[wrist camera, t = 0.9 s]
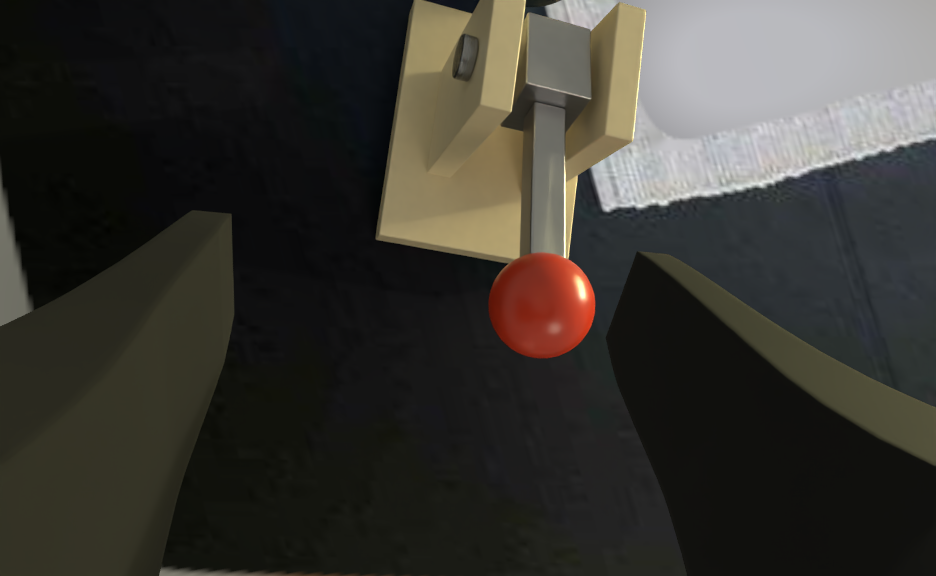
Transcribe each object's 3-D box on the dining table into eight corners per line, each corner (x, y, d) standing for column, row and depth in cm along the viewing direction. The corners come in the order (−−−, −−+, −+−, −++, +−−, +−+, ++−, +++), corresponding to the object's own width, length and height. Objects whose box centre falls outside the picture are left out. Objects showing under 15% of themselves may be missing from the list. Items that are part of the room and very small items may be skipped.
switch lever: (567, 375, 20) (616, 348, 17) (472, 362, 19) (507, 332, 16) (567, 83, 24) (606, 25, 21) (489, 63, 23) (519, 0, 21)
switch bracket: (556, 272, 29) (668, 238, 20) (374, 239, 27) (415, 187, 18) (581, 57, 30) (695, -58, 22) (409, 11, 28) (462, -135, 20)
